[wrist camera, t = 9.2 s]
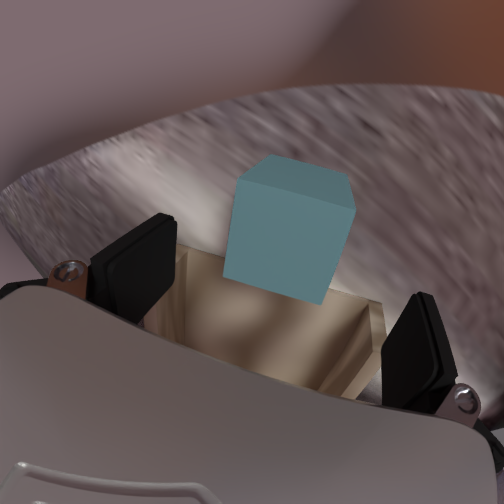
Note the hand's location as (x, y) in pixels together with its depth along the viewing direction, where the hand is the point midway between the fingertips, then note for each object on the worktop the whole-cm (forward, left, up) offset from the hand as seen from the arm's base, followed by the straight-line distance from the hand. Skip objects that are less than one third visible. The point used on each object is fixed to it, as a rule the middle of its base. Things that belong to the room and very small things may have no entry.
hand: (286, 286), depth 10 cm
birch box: (+1, +13, -10) cm, 16 cm away
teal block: (+1, 0, -10) cm, 10 cm away
